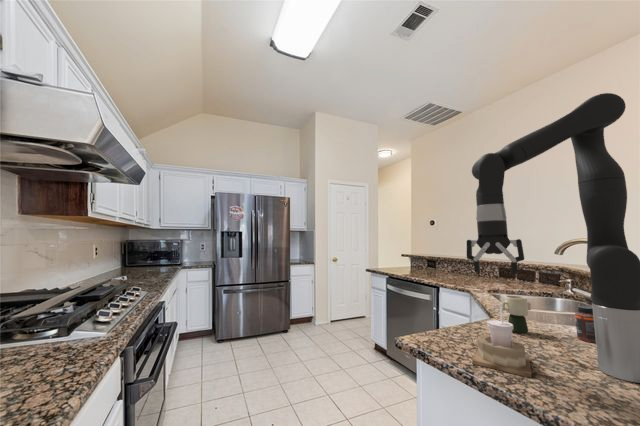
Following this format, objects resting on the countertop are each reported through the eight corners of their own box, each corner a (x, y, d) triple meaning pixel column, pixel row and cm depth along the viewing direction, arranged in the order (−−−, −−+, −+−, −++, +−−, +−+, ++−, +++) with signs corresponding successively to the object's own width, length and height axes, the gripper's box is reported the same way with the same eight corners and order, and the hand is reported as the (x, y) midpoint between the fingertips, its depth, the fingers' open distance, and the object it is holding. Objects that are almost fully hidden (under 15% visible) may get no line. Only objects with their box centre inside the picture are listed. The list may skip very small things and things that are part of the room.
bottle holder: (529, 359, 77) (527, 340, 78) (531, 377, 67) (529, 355, 68) (477, 349, 85) (476, 331, 86) (472, 363, 75) (471, 343, 75)
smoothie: (515, 365, 72) (512, 311, 73) (487, 358, 76) (484, 308, 77) (516, 357, 77) (512, 307, 78) (489, 351, 81) (487, 304, 82)
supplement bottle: (606, 343, 90) (602, 309, 91) (588, 343, 90) (585, 309, 92) (589, 337, 96) (586, 305, 97) (572, 337, 96) (569, 304, 97)
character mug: (525, 328, 105) (522, 295, 107) (540, 335, 98) (537, 298, 100) (497, 328, 105) (495, 295, 107) (510, 334, 98) (507, 298, 100)
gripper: (520, 219, 79) (525, 275, 77) (466, 222, 88) (469, 272, 86) (520, 217, 73) (526, 277, 71) (463, 220, 82) (466, 274, 80)
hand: (495, 274), depth 79 cm, fingers open, 8 cm apart
